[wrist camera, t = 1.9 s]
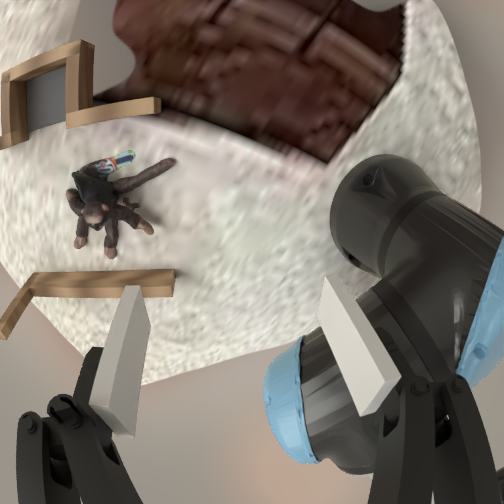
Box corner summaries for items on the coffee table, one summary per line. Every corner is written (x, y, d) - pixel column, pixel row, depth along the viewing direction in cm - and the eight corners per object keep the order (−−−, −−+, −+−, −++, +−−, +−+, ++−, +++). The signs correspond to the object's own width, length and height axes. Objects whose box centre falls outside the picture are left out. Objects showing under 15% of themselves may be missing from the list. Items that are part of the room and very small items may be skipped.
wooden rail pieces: (163, 31, 19) (131, -14, 8) (175, 279, 33) (164, 355, 22) (1, 83, 16) (-65, 91, 5) (36, 281, 30) (-1, 338, 20)
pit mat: (79, 62, 18) (78, 62, 18) (79, 117, 21) (77, 117, 21) (28, 80, 17) (27, 80, 17) (29, 131, 20) (28, 131, 20)
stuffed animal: (52, 234, 26) (41, 178, 17) (90, 177, 31) (101, 113, 22) (130, 278, 31) (151, 240, 21) (160, 216, 36) (192, 163, 27)
